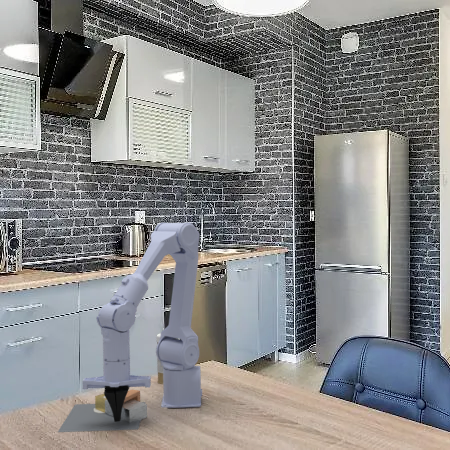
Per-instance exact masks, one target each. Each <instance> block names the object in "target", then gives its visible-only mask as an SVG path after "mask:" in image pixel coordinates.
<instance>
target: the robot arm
mask: <svg viewBox="0 0 450 450" xmlns="http://www.w3.org/2000/svg"><path fill="white" fill-rule="evenodd" d="M199 240H200V232H199V231H198V229H197V228H196V226H195V224H193V223H192V222H189V221H188V222H164V221H163V222H160V223H158V224H157V225H156V226H155V228H154V230H153V231H152V232H151V234H150V243H149V245H148V247H147V248H146V251H145V252H144V255H143V256H142V258H141V260H140V261H139V263H138V265H137V267H136V268H135V269H136V270H135V271H134V272H133V273H132V274H126V276H125V277H123V278H122V280H121V281H120V282H121V284H120V286H119V287H118V289H117V290H116V291H115V293H114V295H113V296H112V297H111V298H110V301H109V302H107V303H106V304H104V305H102V307H101V308H100V310H99V312H98V316H96V323H97V325H98V326H99V327H100V333H101V335H102V356H103V358H102V362H103V363H102V365H103V367H102V368H103V375H101V376H93V377H84V378H83V379H82V390H88V389H104V392H103V394H104V395H105V397H106V399H107V401H108V403H109V405H110V407H111V410H112V413H113V417H114V422H120V420H121V412H122V407H123V404H124V400H125V397H126V395H127V393H128V391H130V388H137V387H138V388H139V387H140V388H142V387H143V388H144V387H145V388H151V384H152V380H151V376H150V375H133V374H131V360H130V359H131V355H130V353H131V351H130V348H131V347H130V329H131V328H132V327H133V325H135V322H136V313H137V309H138V306H139V304H141V301H142V300H143V298H144V297H145V295H146V293H147V292H148V290H149V284H148V280H149V279H150V278H151V276H152V275H153V273H154V272H155V270H156V269H157V268H158V267H159V265H160V264H161V262H162V261H163V260H164V258H165V257H166V256H168V255H169V256H171V258H172V259H173V260H174V262H175V266H174V267H175V268H174V277H173V285H172V294H171V300H170V301H171V303H170V311H169V318H168V325H167V326H166V327H164V329H163V330H162V331H161V332H160V333H161V336H160V340H159V342H158V344H157V345H156V348H155V353H156V355H155V356H156V359H157V358H158V359H159V360H160V361H161V366H163V384H162V385H163V387H162V388H163V395H162V400H161V405H160V407H161V408H167V409H173V408H176V409H177V408H200V407H201V406H202V397H203V388H201V387H202V384H201V383H202V381H201V379H202V378H201V377H202V375H201V365H196V364H197V362H199V361H198V360H199V358H200V347H199V336H198V335H197V333H196V332H195V331H194V330H193V329H192V320H193V319H192V318H193V311H194V301H195V292H196V291H195V290H196V285H197V274H198V265H199Z"/></svg>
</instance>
